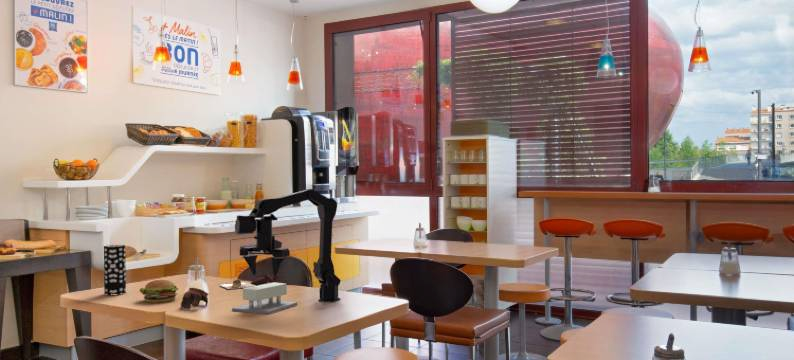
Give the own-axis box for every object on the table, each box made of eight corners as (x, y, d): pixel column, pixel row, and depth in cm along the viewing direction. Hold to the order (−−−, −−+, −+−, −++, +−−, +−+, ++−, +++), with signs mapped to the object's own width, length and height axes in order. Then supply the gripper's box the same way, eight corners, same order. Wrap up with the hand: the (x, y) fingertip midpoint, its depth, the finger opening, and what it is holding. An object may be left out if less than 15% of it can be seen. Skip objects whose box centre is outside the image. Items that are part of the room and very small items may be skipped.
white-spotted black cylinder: (130, 293, 280) (129, 245, 280) (112, 296, 273) (111, 247, 273) (117, 291, 285) (117, 244, 285) (100, 294, 278) (99, 246, 278)
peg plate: (297, 304, 251) (297, 294, 251) (269, 314, 234) (268, 302, 234) (261, 301, 257) (261, 291, 257) (232, 310, 241) (231, 299, 241)
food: (172, 295, 274) (172, 276, 274) (181, 300, 262) (181, 280, 262) (137, 299, 266) (137, 279, 266) (145, 304, 254) (144, 284, 254)
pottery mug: (175, 308, 250) (184, 287, 253) (199, 317, 253) (207, 296, 257) (184, 305, 240) (192, 283, 243) (208, 314, 243) (216, 292, 247)
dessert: (254, 288, 292) (254, 277, 292) (228, 291, 285) (227, 280, 285) (245, 284, 302) (245, 274, 302) (219, 287, 296) (219, 276, 295)
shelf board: (286, 294, 251) (286, 283, 250) (255, 301, 237) (255, 290, 237) (273, 292, 254) (273, 282, 254) (242, 299, 241) (242, 288, 241)
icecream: (258, 278, 276) (285, 276, 288) (247, 272, 281) (274, 270, 293) (254, 293, 277) (281, 291, 289) (243, 287, 282) (270, 286, 293)
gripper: (297, 231, 249) (298, 273, 249) (256, 230, 257) (257, 271, 257) (280, 234, 239) (281, 278, 239) (238, 233, 247) (238, 275, 247)
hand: (264, 275), depth 246 cm, fingers open, 9 cm apart
